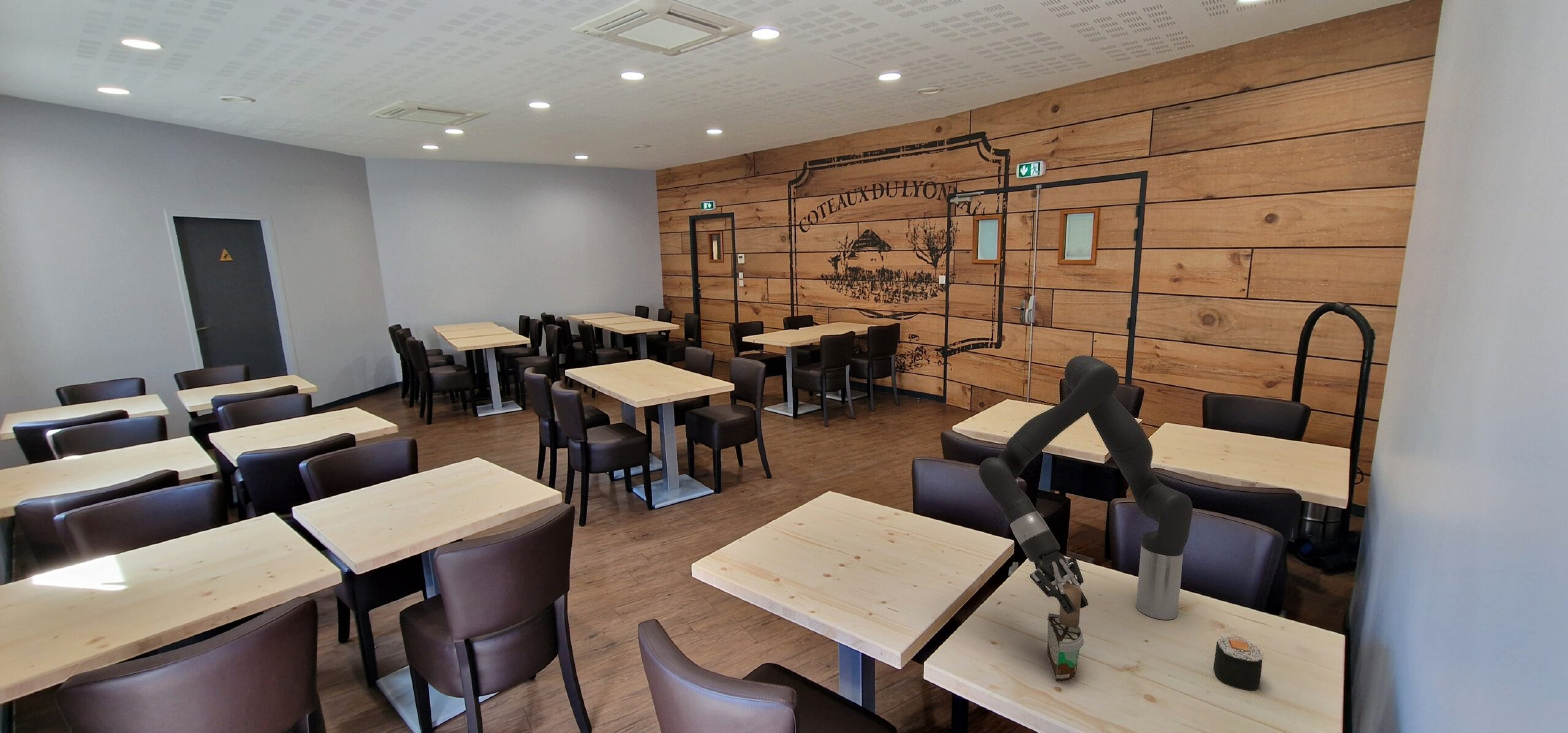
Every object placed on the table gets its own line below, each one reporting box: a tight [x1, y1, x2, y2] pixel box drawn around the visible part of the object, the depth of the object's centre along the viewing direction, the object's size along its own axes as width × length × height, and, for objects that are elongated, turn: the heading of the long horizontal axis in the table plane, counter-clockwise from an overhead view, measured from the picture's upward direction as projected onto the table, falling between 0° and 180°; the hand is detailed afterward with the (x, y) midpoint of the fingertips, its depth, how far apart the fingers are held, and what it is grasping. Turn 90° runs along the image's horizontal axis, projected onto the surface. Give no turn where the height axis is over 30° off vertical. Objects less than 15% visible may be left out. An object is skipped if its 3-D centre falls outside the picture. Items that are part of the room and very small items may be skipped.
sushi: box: [1213, 635, 1265, 691], centre depth 135 cm, size 8×8×8 cm
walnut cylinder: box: [1058, 583, 1082, 627], centre depth 137 cm, size 4×4×8 cm
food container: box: [1046, 612, 1085, 682], centre depth 139 cm, size 12×6×10 cm, turn 168°
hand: (1078, 609), depth 135 cm, fingers closed on walnut cylinder, 3 cm apart
